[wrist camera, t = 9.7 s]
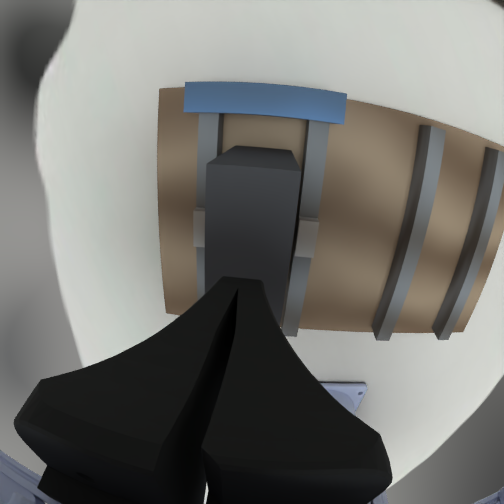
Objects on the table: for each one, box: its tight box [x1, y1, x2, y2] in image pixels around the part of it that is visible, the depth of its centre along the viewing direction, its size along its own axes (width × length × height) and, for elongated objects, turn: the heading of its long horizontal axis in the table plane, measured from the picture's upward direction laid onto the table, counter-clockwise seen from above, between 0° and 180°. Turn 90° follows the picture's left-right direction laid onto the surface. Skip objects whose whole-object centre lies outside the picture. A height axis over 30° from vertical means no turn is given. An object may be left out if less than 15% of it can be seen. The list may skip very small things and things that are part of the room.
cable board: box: [157, 82, 504, 341], centre depth 16 cm, size 15×24×3 cm, turn 86°
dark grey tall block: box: [205, 145, 301, 326], centre depth 14 cm, size 8×3×7 cm, turn 176°
